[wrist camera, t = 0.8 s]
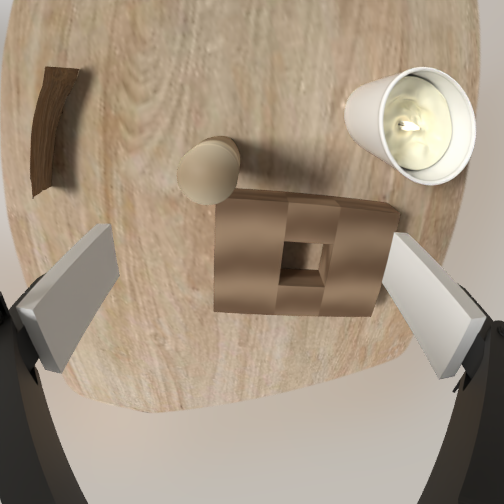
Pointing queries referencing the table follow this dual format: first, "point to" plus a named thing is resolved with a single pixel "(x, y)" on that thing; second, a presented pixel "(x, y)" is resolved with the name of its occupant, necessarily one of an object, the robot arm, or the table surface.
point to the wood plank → (48, 124)
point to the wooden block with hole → (300, 230)
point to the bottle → (209, 171)
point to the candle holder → (414, 123)
